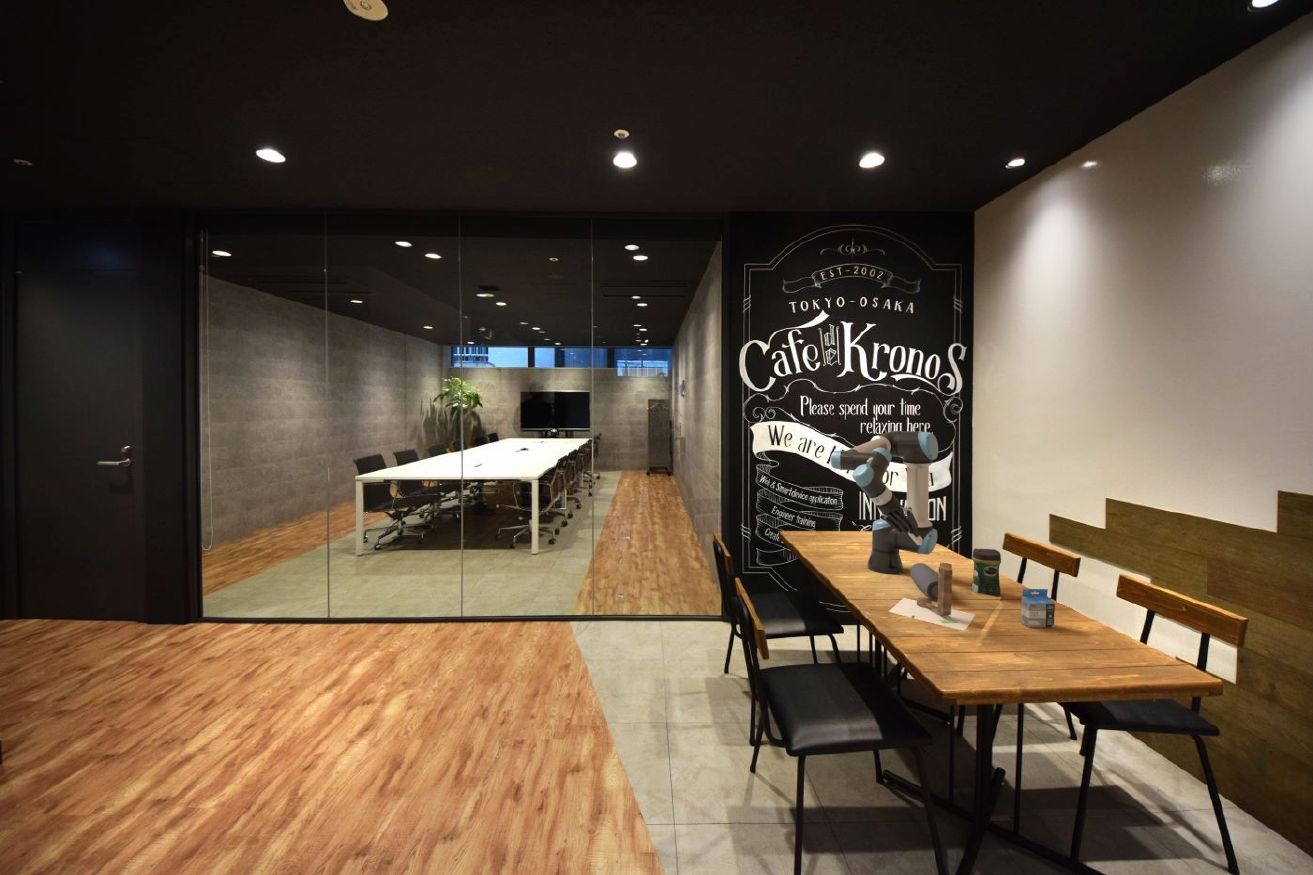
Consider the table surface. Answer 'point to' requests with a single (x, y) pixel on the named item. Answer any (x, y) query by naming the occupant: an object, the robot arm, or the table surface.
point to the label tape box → (1037, 608)
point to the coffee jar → (986, 572)
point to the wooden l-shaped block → (941, 592)
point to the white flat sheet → (932, 615)
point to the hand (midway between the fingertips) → (919, 542)
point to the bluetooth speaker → (925, 580)
